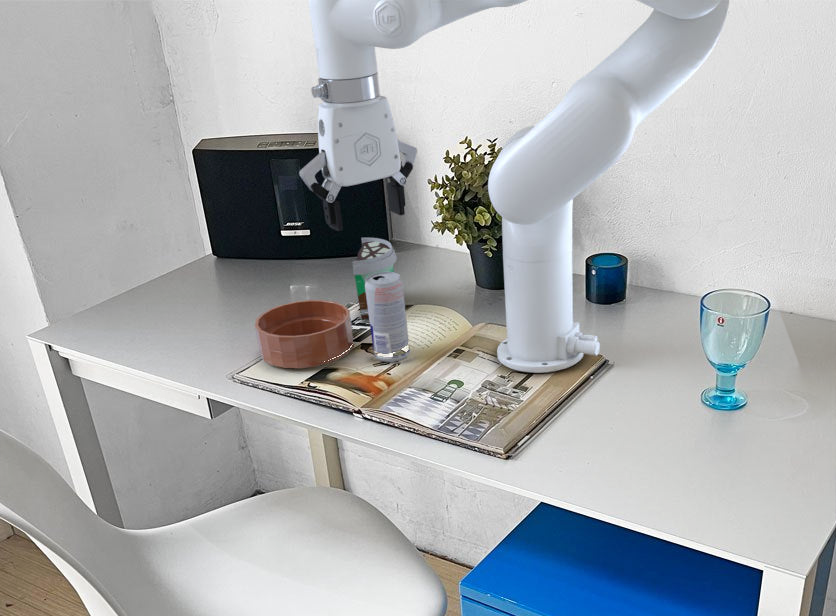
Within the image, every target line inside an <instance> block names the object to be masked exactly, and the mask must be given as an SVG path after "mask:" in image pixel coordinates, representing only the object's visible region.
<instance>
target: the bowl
mask: <svg viewBox="0 0 836 616" xmlns="http://www.w3.org/2000/svg"><path fill="white" fill-rule="evenodd" d="M351 317H352V316H351V311H350V309H349V308H348V307H347V306H346V305H345V304H343V303H339V302H337V301H331V300H326V299H306V300H297V301H292V302H288V303H283V304H280V305H278V306H275V307H271V308H269V309H268V310H266V311H264V312H263V313H261V314H259V316H258V317H257V318H255V322H254V329H255V335H256V339H257V344H258V350H259V354H260V357H261V358H262V360H263V361H264V362H265V363H267V364H269V365H271V366H273V367H278V368H284V369H304V368H305V369H306V368H314V367H318V366H322V365H326V364H330V363H332V362H335V361H337V360H339V359H342V358H343V357H345V356H346V355H348V354H349V353H351V352H352V350H353V348H354V347H355V343H354V344H353V339H354V333H353V325H352V319H351ZM354 340H355V339H354ZM352 344H353V345H352ZM351 345H352V347H351V348H350V346H351ZM349 348H350V350H348V349H349ZM346 350H348V351H347V352H345V351H346ZM343 352H345V353H344V354H342V353H343ZM341 354H342V355H341ZM339 355H341V356H339ZM337 356H339V357H337ZM334 357H336V358H334ZM332 358H334V359H332ZM330 359H331V360H330ZM328 360H329V361H328ZM324 361H325V362H324Z"/></svg>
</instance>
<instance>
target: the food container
mask: <svg viewBox="0 0 836 616" xmlns="http://www.w3.org/2000/svg"><path fill="white" fill-rule="evenodd" d="M397 259H398V257H397V254H396V251H395V249H394V247H393V245H392V243H391V242H390V241H388V240H386V239H383V238H378V237H361V247H360V249H359V251H357V256H356V260H352V273H353V276H354V280H355V287H356V293H357V300H358V307H359V313H360V318H361V320H369V314H368V313H365V312H368V306H367V298H366V291H365V283H366V278H367V277H368V276H369V275H371V274H374V273H379V272H394V264H395V263H396V262H397ZM361 313H362V314H361Z"/></svg>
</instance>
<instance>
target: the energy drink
mask: <svg viewBox="0 0 836 616" xmlns="http://www.w3.org/2000/svg"><path fill="white" fill-rule="evenodd" d="M365 291H366V298H367V306H368V314H369V319H368V320H369V327H370V335H371V336H370V337H371V343H372V344H371V345H372V352H373V356H374V358H375V359H376V360H378V361H380V362H383V363H394V362H395V363H396V362H399V361H402V360H403V361H404V360H405V359H406V358H407V357H408V356H409V355H410V352H411V349H410V347H409V350H408V351H407V352H406V353H404V354H401V355H398V356H393V357H383V356H378V355H376V354H375V353H374V351H376V352H378V353H382V354H389V353H393V352H396V351H399V350H400V349H402V348H404V347H405V346H407V345H408V342H409V343H410V341H409V331H408V322H407V311H406V302H405V295H404V285H403V281H402V278H401V275H400V274H399V273H397V272H394V271H393V272H379V273H374V274H371V275H369V276H368V277H367V278H366V283H365ZM373 350H374V351H373Z"/></svg>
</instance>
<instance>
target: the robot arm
mask: <svg viewBox="0 0 836 616" xmlns="http://www.w3.org/2000/svg"><path fill="white" fill-rule="evenodd" d="M526 1H528V0H308V9H309V15H310V22H311V29H312V35H313V36H312V37H313V43H314V51H315V57H316V64H317V71H318V79H317V82H318V84H317V85H315V86H312V87H311V95H312V97H313V98H314V99H317V98H319V99H320V100H321V101H322V103H319V104H318V114H317V137H318V138H317V139H318V140H317V141H318V154H317V155H316V156H315V157H314V158H313V159H311V160H310V161H309V162H308V163H306V165H304V166H303V167H302V168H301V169H300V170H299V172H298V174H299V177H300V178H301V180H302V181H303V182H304V184H305V185H306V187H307V188H308V190H309V191H310V192H311V193H313V194H315V195H316V196H317V197H318V198H319V199H321V200H322V206H323V212H324V219H325V222H326V224H327V225H328V227H329V228H330V229H333V230H334V231H336V232H341V231H343V230H344V223H343V217H342V216H343V215H342V210H341V203H340V201H338V200H337V196H338V194H339V192H340V190H341V188H342V187H350V186H356V185H360V184H364V183H365V184H366V183H369V182H373V181H377V180H381V179H386V178H387V179H388V180H389V182H387V184H386V189H387V198H388V199H387V200H388V207H389V211H390V212H392V213H394V214H396V215H398V216H405V213H406V212H405V207H406V196H405V185H407V183H408V181H407V180H408V178H409V176H410V175H411V173H412V171H413V169H414V163H415V160H416V157H417V153H418V149H417V147H415V146H413V145H410V144H407V143H405V142H402V141H400V140H398V137H397V136H398V135H397V130H396V125H395V121H394V118H393V115H392V110H391V107H390V104H389V101H388V98H387V97H386V96H384V95H381V90H380V80H379V72H378V63H377V53H376V48H379V49H380V48H381V49H387V50H388V49H389V50H399V49H404V48H407V47H409V46H411V45H413V44H414V43H416V42H417V41H418V40H419V39H421V38H423V37H424V36H425V35H427V34H428V33H431V32H433V31H435V30H438V29H439V28H442V27H444V26H447V25H449V24H451V23H454V22H456V21H458V20H461V19H464V18H467V17H468V16H469V17H470V16H471V15H474V14H477V13H480V12H482V11H486V10H489V9H494V8H509V7H512V6H516V5H519V4H522V3H524V2H526ZM636 1H637V2H639V3H641V4H644V5H645V6H647V7H649V8H651V9H653V10H652V11H651V13H650V15H649V16H648V18H646V19H645V21H644V22H643V23H642V24H641V25H640V26H639V27H638V28H637V29H636V30H635V31H634V32H633V33H631V34H630V35H629V36H628V37H627V38H626V40H624V41H623V43H621V44H620V45H619V46H618V47H616V49H615V50H613V52H611V53H610V54H609V55H608V56H607V57H606V58H605V59H603V60H602V61H600V63H599V64H597V65H596V66H594V67H593V69H592V70H590V71H589V72H588V73H586V74H585V75H583V76H582V77H581V78H579V79H577V81H575V82H574V83H573V84H572V85H571V86H570V88H569V89H568V90H567V92H566V93H565V95H564V97H563V99H562V100H561V101H560V102H559V103H558V104H557V105H556V106H555V107H554V108H553V109H552V110H551V111H550V112H549V113H547V115H546V116H544V117H542V119H541V120H540V121H538V123H536V125H531V126H527V127H523V128H521V129H520V130H518V131H517V132H515V133H514V134H512V136H510V138H508V140H507V141H506V142H505V144H504V145H503V147H502V149H501V150H500V152H499V154H498V155H497V157H496V159H495V161H494V162H493V163H492V167H491V169H490V172H489V175H488V179H487V180H488V181H487V193H488V196H489V201H490V203H491V205H492V207H493V209H494V210H495V211H496V213H497V214H498V215H499V216H500V217H501V234H502V235H501V236H502V237H501V238H502V240H501V241H502V265H503V266H502V267H503V283H504V285H503V287H504V305H505V325H506V327H505V328H506V338H505V339H504V340H502V341H501V342H500V343H499V344H498V346H497V349H496V356H497V360H498V361H499V362H500V363H501V364H502V365H503V366H504V367H507V368H508V369H511V370H514V371H517V372H523V373H532V374H533V373H535V374H540V373H543V374H544V373H552V372H558V371H562V370H565V369H568V368H570V367H572V366H574V365H576V364H577V363H578V362H580V361H581V360H582V359H583V358H584V355H588V356H589V355H590V356H595V357H596V356H598V355H599V353H600V350H601V344H600V341H598V336H597V335H593V334H583V332H581V331H580V322H576V321H574V315H573V314H574V306H573V305H574V301H573V300H574V299H573V296H574V294H573V291H574V289H573V210H574V209H573V208H574V207H573V206H574V198H576V197H577V196H578V195H579V194H580V193H582V192H583V191H584V190H586V189H587V188H588V187H589V186H590V185H591V184H593V183H594V182H595V181H596V180H598V179H599V178H600V177H601V176H602V175H604V174H605V173H606V172H608V170H609V169H611V168H612V167H613V166H614V165H615V164H616V163H617V162H618V161H619V160H620V159H621V158H622V157H623V155H624V154H625V153H626V151H627V150H628V149H629V147H630V145H631V143H632V141H633V138H634V135H635V132H636V129H637V127H638V126H639V125H640V124H641V123H642V122H643V121H644V120H645V119H647V117H648V116H649V115H650V114H651V113H653V112H654V111H655V110H656V109H657V108H659V107H660V106H661V105H662V104H663V103H665V101H666V100H667V99H668V98H670V97H671V96H672V95H673V94H674V93H675V92H676V91H677V90H678V89H679V88H680V87H682V86H683V85H684V84H685V83H686V82H687V81H688V80H689V79H690V78H691V77H692V76H693V75H694V74H695V73H696V72H697V71H698V70H699V69H700V68H701V66H702V65H703V64H704V63H705V61H706V60H707V59H708V57H709V56H710V54H711V53H712V51H713V49H714V48H715V46H716V44H717V42H718V40H719V38H720V35H721V33H722V31H723V28H724V25H725V22H726V18H727V15H728V10H729V5H730V0H636ZM401 153H402V161H401ZM320 171H321V173H322V177H323V178H324V180H323V182H322V184H320V183H319V182H318V181H317V179H316V174H317V173H319V172H320Z"/></svg>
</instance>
